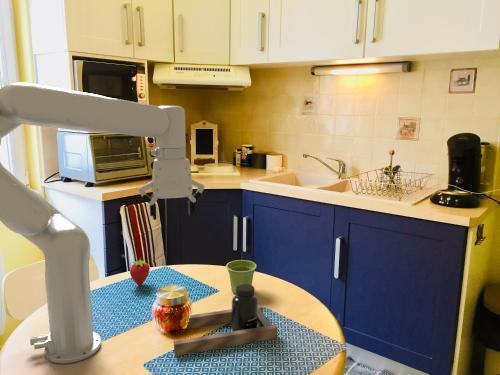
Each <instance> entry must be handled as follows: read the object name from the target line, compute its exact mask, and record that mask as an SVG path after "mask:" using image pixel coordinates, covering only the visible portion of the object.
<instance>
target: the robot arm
mask: <svg viewBox="0 0 500 375" xmlns="http://www.w3.org/2000/svg"><path fill="white" fill-rule="evenodd" d="M21 125H27V126H28V125H29V126H37V127H43V128H45V127H46V128H54V129H65V130H72V131H78V132H79V131H80V132H88V133H104V134H105V133H106V134H107V133H109V134H116V135H117V134H118V135H126V136H134V137H143V138H151V139H155V148H154V149H151V150H150V156H155V158H154V159H153V164H152V175H151V176H152V178H151V181H149V182H147V183H145V184H143V185H142V186H139V187H138V193H139V194H140V196H141V197H142V199H143V200H144V201H146V203H148V204H149V216H150V217H152V219H153V220H154V221H156V220H157V205H156V202H157V201H158V200H159V199H161V200H162V199H177V198H179V199H180V198H188V202H187V214H188V216H189V217H190V218H194V215H193V214H195V213H196V212H195V211H196V209H195V208H196V207H195V206H196V205H195V203H196V201H197V200H199V198H200V197H201V196H202V193H203V192H204V190H205V185H204V184H203V183H201V182H198V181H196V180H193V179H192V170H191V169H192V168H191V162H190V159H189V158H187V156H186V154H187V153H186V152H187V151H186V148H187V147H186V146H187V145H186V144H187V143H186V111H185V109H184V107H183V106H180V105H159V106H158V105H155V104H154V105H153V104H148V103H141V102H138V101H137V102H135V101H130V100H124V99H118V98H112V97H107V96H104V95H99V94H94V93H88V92H83V91H76V90H71V89H64V88H59V87H55V86H54V87H52V86H49V85H41V84H36V83H30V82H29V83H28V82H13V83H9V84H6V85H5V86H2V87H1V88H0V145H1V143H2V139H3V138H4V137H6V136H7V135H8V134H10V133H12V132H13V131H14V130H16V129H18V128H19V127H20V126H21ZM193 186H194V187H196V188H197V190H196V191H195V192H194V194H193ZM149 189H151V190H152V195H151V196H149V195H148V194H147V193H146V191H147V190H149ZM0 222H1V223H2V224H3V225H4V226H5V228H7V229H8V230H9V231H11V232H13V233H16V234H18V235H21V236H22V237H23V238H25V239H26V240H27V241H29V243H32V244H33V245H34V246H35V247H37V248H38V249H39V250H40V252H42V253H41V254H43V256H44V262H45V265H44V266H45V268H44V282H45V283H44V286H45V294H46V304H47V315H48V323H49V326H48V328H49V332H48V333H45V335H35V336H31V337H29V338H30V339H29V344H30V346H34V347H33V348H34V350H40V349H43V348H44V357H45V358H46V359H47V361H49V362H52V363H56V364H71V363H76V362H77V363H78V362H80V361H83V360H86V359H88V358H90V357H91V356H92V355H94V354H95V353H97V351H98V350H99V349H100V347H101V344H102V342H101V340H102V339H101V335H99V334H98V333H96V332H95V331H94V324H93V322H94V320H93V309H92V296H91V295H92V292H91V283H90V282H91V280H90V256H91V243H90V238H89V236H88V234H87V233H86V231H85V230H84V229H83V228H82V227H81V226H80V225H78V224H77V223H75V222H74V221H72V220H71V219H70V218H68V217H67V216H66V215H64V214H63V213H62V212H60V211H59V210H58V209H57V208H55V207H54V205H52V204H51V203H49V202H48V201H47V200H46V199H45V197H43V196H42V195H41V194H40V193H38V192H37V191H36V190H34V189H32V188H31V187H29V186H27V185H25V183H24V182H22V181H20V179H18V178H17V177H16V176H15V175H14V174H13V173H11V171H9V170H8V169H7V168H6V167H5V166H4V165H3V164H2V162H0Z"/></svg>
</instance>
